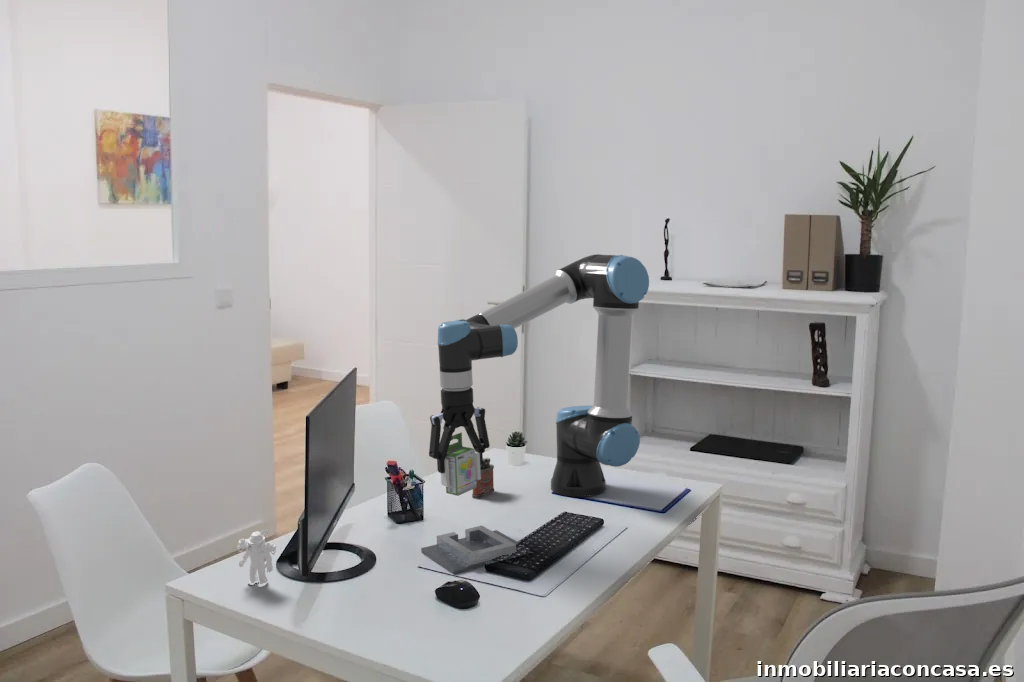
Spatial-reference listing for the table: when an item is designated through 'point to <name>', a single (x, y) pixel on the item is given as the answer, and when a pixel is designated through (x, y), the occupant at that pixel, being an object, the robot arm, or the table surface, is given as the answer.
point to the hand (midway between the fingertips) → (461, 481)
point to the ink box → (461, 467)
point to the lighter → (484, 480)
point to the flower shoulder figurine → (257, 555)
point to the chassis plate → (469, 549)
